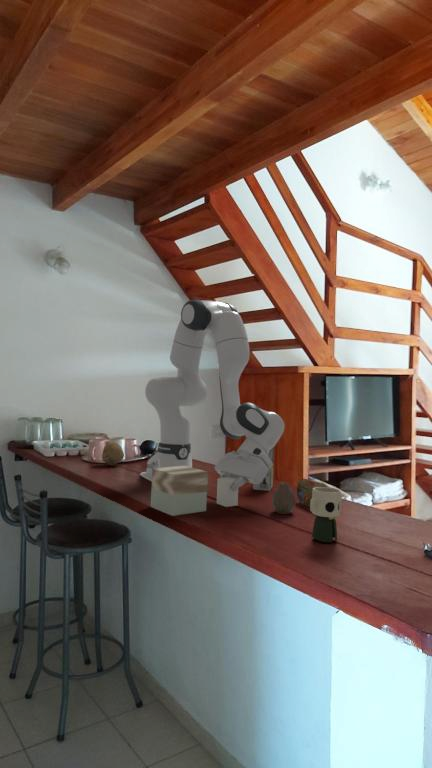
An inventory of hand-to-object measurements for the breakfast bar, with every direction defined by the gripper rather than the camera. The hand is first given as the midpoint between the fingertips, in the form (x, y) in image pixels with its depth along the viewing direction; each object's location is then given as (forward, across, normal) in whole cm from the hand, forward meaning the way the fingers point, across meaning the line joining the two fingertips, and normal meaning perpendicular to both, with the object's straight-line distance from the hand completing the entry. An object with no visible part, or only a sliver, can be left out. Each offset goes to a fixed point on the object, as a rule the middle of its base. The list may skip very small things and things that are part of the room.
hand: (226, 487), depth 175 cm
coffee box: (-16, -14, +24) cm, 32 cm away
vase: (-3, +16, +11) cm, 20 cm away
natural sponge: (+4, -78, +4) cm, 78 cm away
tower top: (+11, -3, -11) cm, 16 cm away
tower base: (+15, -3, -7) cm, 17 cm away
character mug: (+5, +42, +3) cm, 42 cm away
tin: (-13, +15, +21) cm, 29 cm away
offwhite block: (+3, 0, +4) cm, 5 cm away
